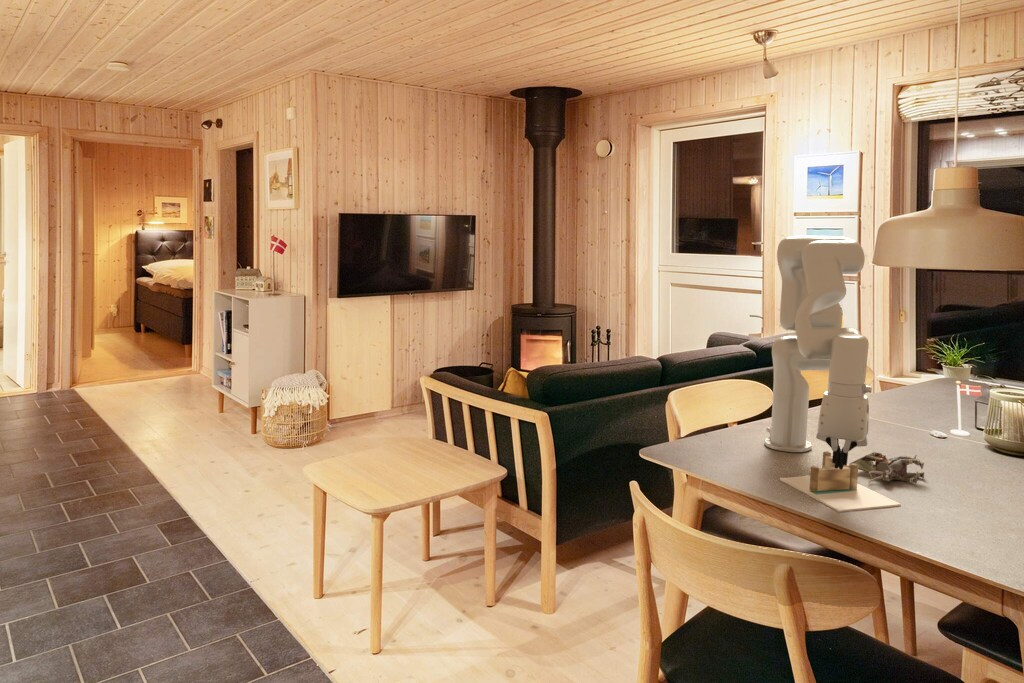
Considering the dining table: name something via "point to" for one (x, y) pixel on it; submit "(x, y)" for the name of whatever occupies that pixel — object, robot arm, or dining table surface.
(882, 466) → the figurine
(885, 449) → the dining table surface
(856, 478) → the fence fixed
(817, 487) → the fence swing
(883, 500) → the card
